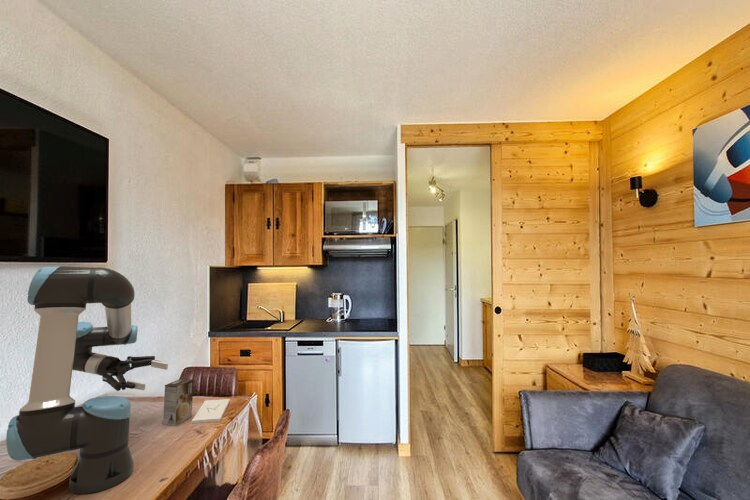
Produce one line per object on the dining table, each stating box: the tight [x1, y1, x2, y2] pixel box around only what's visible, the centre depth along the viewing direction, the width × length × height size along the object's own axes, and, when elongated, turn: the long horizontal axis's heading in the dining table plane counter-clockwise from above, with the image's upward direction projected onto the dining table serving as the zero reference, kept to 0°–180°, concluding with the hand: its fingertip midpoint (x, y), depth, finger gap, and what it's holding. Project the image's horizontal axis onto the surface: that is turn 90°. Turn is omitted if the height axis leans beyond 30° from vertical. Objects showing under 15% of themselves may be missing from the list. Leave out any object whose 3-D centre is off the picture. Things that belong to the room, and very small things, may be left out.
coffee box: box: [162, 378, 194, 427], centre depth 141 cm, size 9×6×16 cm
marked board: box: [191, 398, 231, 424], centre depth 150 cm, size 22×11×1 cm, turn 14°
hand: (156, 376), depth 133 cm, fingers open, 13 cm apart
